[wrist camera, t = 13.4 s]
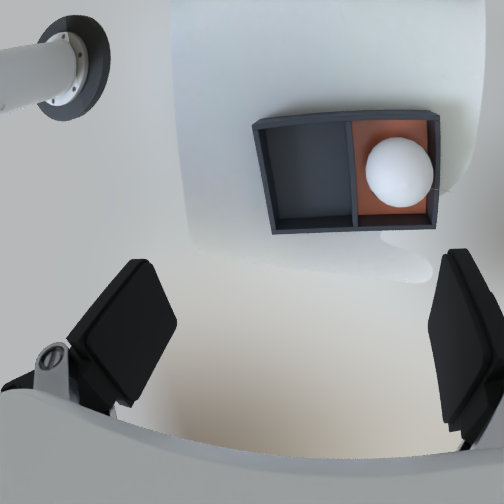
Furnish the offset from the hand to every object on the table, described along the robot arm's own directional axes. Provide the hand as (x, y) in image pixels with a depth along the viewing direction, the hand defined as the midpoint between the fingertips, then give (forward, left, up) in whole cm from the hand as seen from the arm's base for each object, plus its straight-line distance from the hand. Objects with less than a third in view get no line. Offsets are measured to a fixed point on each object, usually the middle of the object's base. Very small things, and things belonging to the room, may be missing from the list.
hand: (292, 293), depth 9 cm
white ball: (+9, -5, -27) cm, 29 cm away
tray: (+3, -5, -28) cm, 28 cm away
